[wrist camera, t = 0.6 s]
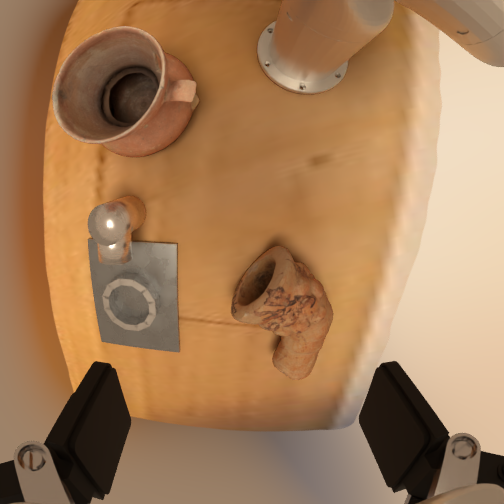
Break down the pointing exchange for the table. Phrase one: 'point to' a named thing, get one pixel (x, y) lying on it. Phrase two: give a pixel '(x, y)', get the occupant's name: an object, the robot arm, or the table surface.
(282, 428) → the table surface
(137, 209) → the grey rounded piece
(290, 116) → the table surface
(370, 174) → the table surface
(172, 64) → the ceramic jug
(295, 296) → the clay pipe
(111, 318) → the flange
